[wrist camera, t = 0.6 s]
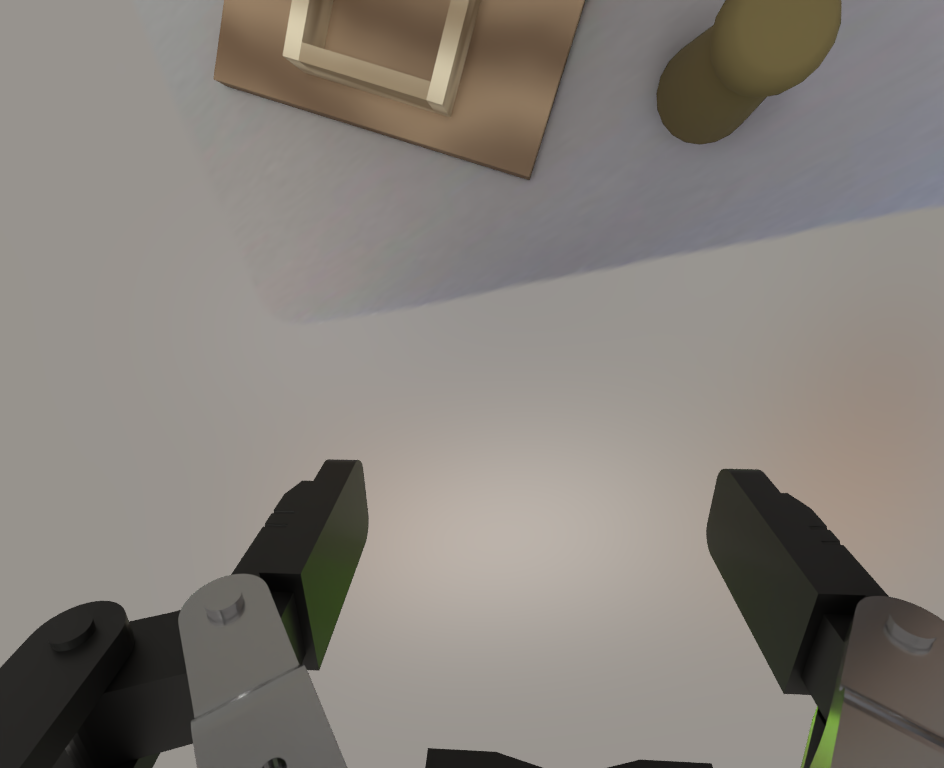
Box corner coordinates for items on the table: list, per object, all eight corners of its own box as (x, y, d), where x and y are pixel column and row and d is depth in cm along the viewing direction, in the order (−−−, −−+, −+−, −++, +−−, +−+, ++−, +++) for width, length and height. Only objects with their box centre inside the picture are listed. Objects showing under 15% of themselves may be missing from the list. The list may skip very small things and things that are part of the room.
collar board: (261, -159, 31) (218, -225, 27) (603, -59, 31) (615, -109, 26) (226, 85, 35) (183, 63, 31) (529, 180, 35) (528, 170, 30)
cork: (667, 157, 33) (730, 115, 23) (647, 59, 32) (703, -35, 21) (764, 125, 32) (878, 64, 22) (747, 21, 31) (859, -97, 20)
